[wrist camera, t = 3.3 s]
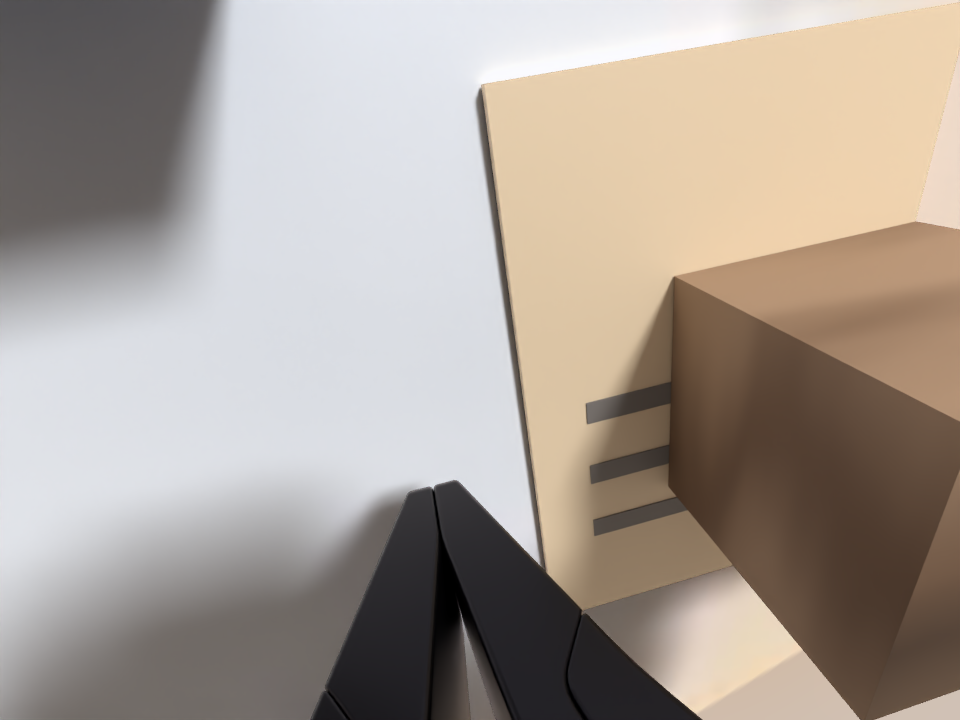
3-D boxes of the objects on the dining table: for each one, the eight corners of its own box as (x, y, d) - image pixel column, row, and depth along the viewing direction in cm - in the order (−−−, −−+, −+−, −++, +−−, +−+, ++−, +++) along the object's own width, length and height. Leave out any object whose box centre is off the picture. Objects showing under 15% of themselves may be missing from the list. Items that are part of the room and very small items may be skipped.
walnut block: (862, 432, 12) (1157, 618, 7) (668, 486, 11) (863, 722, 7) (915, 220, 9) (1390, 310, 5) (673, 276, 9) (975, 430, 5)
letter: (828, 529, 14) (835, 536, 13) (551, 611, 13) (554, 619, 13) (958, 2, 8) (973, -1, 8) (481, 84, 7) (484, 83, 7)
